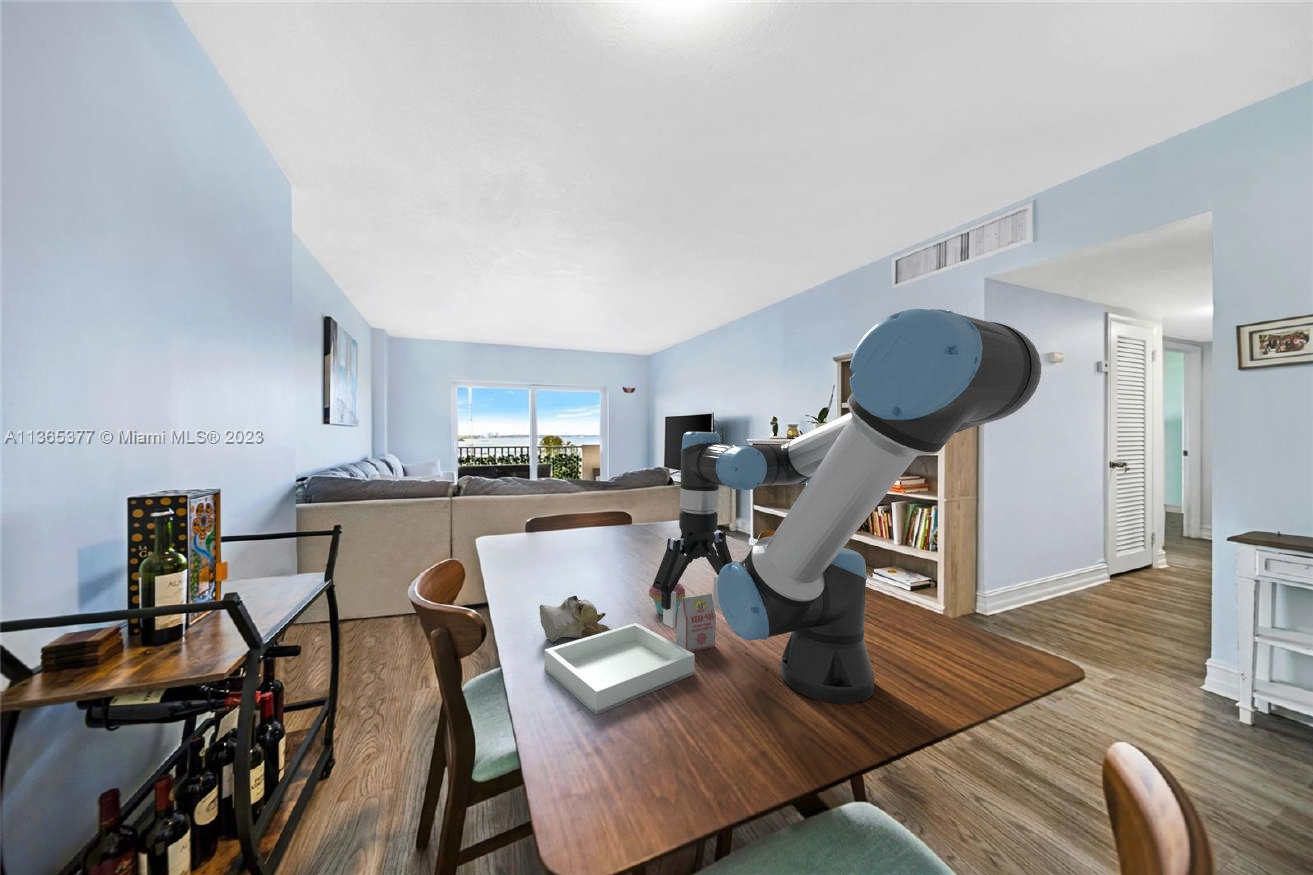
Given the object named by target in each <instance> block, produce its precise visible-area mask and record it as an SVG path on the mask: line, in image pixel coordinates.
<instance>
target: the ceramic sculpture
mask: <svg viewBox="0 0 1313 875" xmlns="http://www.w3.org/2000/svg"><path fill="white" fill-rule="evenodd" d="M538 608H539V617H540V624H541V627H542V629H543V630H544V634H545V635H544V636H545V637H546V639H547V640H549V641H551V642H552V643H554V642H556V641H557V640H558V639H560V638H563V637H564V638H572V639H583V638H586V637H589V636H593V635H596V634H600V633H603V632H606V631H610V630H613V628H609V627H608V626H607V625H604V624H602V623H599V622H600V621H601V620H602V619H603V618H604V617H605V616H606V615H607V613H606V612H602V613H598V611H597V608H596V606H595V605H594V604H593V603H592V602H591V601H589V600H587V599H583V600H582V599H579V598H578V596H577V595H573V596H570V597H567V598H565V599H564V600H563V602H562V604H561V605H559V606H552V605H547V604H545V605H544V604H540V605H539V606H538Z"/></svg>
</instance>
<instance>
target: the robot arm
mask: <svg viewBox="0 0 1313 875" xmlns="http://www.w3.org/2000/svg"><path fill="white" fill-rule="evenodd" d="M849 370H850V371H851V373H852V374H851V375H852V376H850V377H849V378H848V379H849V388H850V390H851V393H850V395H849V396H848V398H847V407H848V410H849V412H848V413H845V414H844V415H841V416H839V417H837V418H835V419H833V420H830V421H829V422H826V423H825V424H822V425H820V426H818V427H816V428H814V429H812V430H809V431H807V432H806V433H803V434H801V435H799V436H797V437H795V438H793V439H791V440H789V441H787V442H784V443H781V444H774V445H773V444H772V445H771V444H763V445H762V444H759V445H758V444H726V443H724V444H723V443H722V442H721V440H722V439H721V435H720V434H719V433H717V432H712V431H711V432H709V431H687V432H685V433H683V436H682V442H681V450H680V489H679V490H680V492H679V494H680V497H679V507H680V508H681V510H680V511H679V515H678V516H679V518H678V521H679V522H678V528H679V529H680V533H681V534H680V537H679V538H674V537H672V536H670V537H668V538H667V544H666V550H665V553H664V555H663V556H662V557H663V558H662V560H661V563H660V566H659V567H658V569H657V570H658V571H657V573H656V576H655V578H654V579H653V580H654V581H653V583H652V585H653V588H655V589H657V590H659V591H661V593H662V594H661V606H662V608H663V615H662V624H664V625H666V626H667V627H670V628H672V629H673V628H676V618H677V613H676V592H674V591H673V590H674V588H675V587H676V585H677V583H678V584H679V581H680V580H681V578H682V576H683V574H684V572H686V569H687V568H688V566H689V565H690V564H691V563H692V562H693V561H694V560H699V558H705V559H706V560H707V561H708V563H709V564H710V566H711V567H712V569H713V570H714V572H715V573H716V575H714V576H713V593H712V599H713V605H714V610H715V609H716V610H718V611H720V612H722V615H723V618H724V620H725V621H726V623H727V625H728V626H729V628H730V630H731V631H732V632H733V633H734V634H735V635H736V636H738V637H739V638H742V639H743V640H745V641H751V642H752V641H756V640H760V641H761V640H762V641H763V640H767V639H768V638H772V637H776V636H780V635H784V634H788V633H790V635H789V638H788V640H787V643H786V646H785V648H784V651H783V654H782V657H781V660H780V675H781V678H782V680H783V681H784V682H785V684H787V685H788V686H789V687H790V688H791V689H792V690H794V691H795V692H797V693H799V694H801V695H803V696H806V697H808V698H811V699H813V700H817V701H822V702H826V703H832V704H845V705H846V704H847V705H849V704H856V703H861V702H864V701H866V700H868V699H870V698H871V697H872V696H873V694H874V692H875V674H874V671H873V668H872V667H873V666H872V664H871V661H870V657H869V654H868V650H867V648H866V644H865V620H866V619H865V617H866V614H865V613H866V591H867V590H866V588H867V580H868V575H867V570H866V569H867V567H866V566H867V565H866V560H865V558H864V556H862V554H861V553H859V552H858V551H855V550H853V549H849V548H845V546H846V545H847V544H848V542H849V541H850V540H851V538H853V536H854V535H855V534H856V533H857V532H858V530H859V529H860V527H861V526H862V525H863V524H864V522H865V521H866V520H867V519H868V517H869V516H870V515H871V514H872V512H873V511H875V509H876V508H877V507H878V505H879V503H880V502H881V501H882V500H883V499H884V498H885V497H886V495H887V494H888V492H889V491H891V489H892V487H894V485H895V484H896V483H897V481H898V480H899V479H900V478H901V476H903V474H904V472H906V471H907V469H908V468H909V467H910V465H911V464H912V463H913V461H915V459H916V457H918V456H927V455H929V456H930V455H935V454H938V453H939V452H940V451H941V450H942V449H943V448H944V446H945V445H946V444H947V443H948V441H949V440H950V439H951V438H952V437H953V435H955V434H956V433H960V432H963V431H965V430H969V429H971V428H974V427H975V428H976V427H979V426H982V425H984V424H985V425H986V424H988V423H992V422H995V421H999V420H1002V419H1004V418H1006V417H1009V416H1011V415H1013V414H1015V412H1017V411H1019V410H1020V409H1022V407H1024V406H1025V405H1026V404H1027V403H1028V402H1029V401H1030V400H1031V398H1032V397H1033V396H1034V395H1035V392H1036V391H1037V388H1038V386H1039V384H1040V381H1041V376H1042V364H1041V358H1040V354H1039V352H1038V350H1037V348H1036V347H1035V345H1034V343H1033V342H1032V341H1031V339H1029V338H1028V337H1027V336H1026V335H1025V334H1024V333H1023V332H1021V331H1019V330H1018V329H1015V328H1014V327H1013V326H1010V325H1008V324H1004V323H1003V324H1002V323H1000V322H995V321H987V320H983V319H979V318H975V317H971V316H967V315H963V314H959V313H956V312H953V311H951V310H948V309H947V310H946V309H935V308H934V309H926V308H913V309H905V310H902V311H899V312H897V313H893V314H891V315H889V316H887V317H885V318H883V319H881V320H880V321H879V322H878V323H876V324H874V325H873V327H871V328H870V329H869V330H868V331H867V332H866V334H865V335H863V337H862V338H861V339H860V341H859V342H858V344H857V346H856V348H855V350H854V352H853V354H852V356H851V360H850V365H849ZM803 484H805V487H804V488H803V489H802V491H801V492H800V494H799V496H798V497H797V499H796V500H795V501H794V503H793V505H792V506H791V508H790V509H789V510H788V512H787V513H786V515H785V517H784V518H783V520H782V521H781V523H780V524H779V525H778V527H777V529H776V530H775V532H774V534H773V535H771V536H764V537H762V538H760V539H758V540H757V541H756V542H755V543H754V545H753V546H752V548H751V549H750V551H749V552H748V554H747V556H746V557H745V558H744V559H743V560H741V561H736V560H733V559H732V556H731V553H730V550H729V549H730V548H729V546H728V543H727V534H726V533H727V532H726V531H723V530H719V529H718V520H719V518H718V516H719V515H718V512H717V510H718V509H719V493H720V492H719V490H720V486H721V487H722V486H723V487H726V488H731V489H732V490H743V491H750V490H754V489H755V488H757V487H763V486H765V487H766V486H782V485H783V486H785V485H786V486H787V485H788V486H798V485H803ZM668 584H669V586H668Z"/></svg>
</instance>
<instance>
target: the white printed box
mask: <svg viewBox="0 0 1313 875" xmlns="http://www.w3.org/2000/svg"><path fill="white" fill-rule="evenodd" d="M716 619H717V615H716V611H715V608H714V605H713V593H711V592H709V593H703V594H697V595H692V596H685V597H683V598H681V603H680V606H679V609H678V612H677V613H676V626H675V628H676V631H675V632H676V635H675V638H676V639H675V644H676V645H678V646H680V647H682V648H684V649H686V650H687V651H689V652H691V653H693V652H696V651H701V650H705V649H711V648H715V647H716V631H717V630H716V628H717V627H716V626H717V625H716V624H717V620H716Z"/></svg>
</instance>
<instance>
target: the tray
mask: <svg viewBox="0 0 1313 875" xmlns="http://www.w3.org/2000/svg"><path fill="white" fill-rule="evenodd" d="M695 656H696V655H695V653H694V652H689V651H687V650H686V649H684V648H682V647H680V646H678V645H676V642H675V643H674V642H673V641H671V640H669V639H667V638H665V637H663V636H662V635H660V634H658V633H656V632H654V631H652V630H650V629H649V628H647V627H645V626H643V625H642V624H640V623H638V622H635V623H630V624H627V625H624V626H621V627H617V628H612V630H610V631H606V632H603V633H600V634H596V635H593V636H589V637H585V638H578V639H576V640H572V641H569V642H566V643H563V644H559V645H556V646H552V647H549V648H545V649H544V669H543V670H545V671H546V673H548V674H549V675H550V676H551V677H552V678H554V679H555V680H556V681H557V682H558V683H559V684H560V685H561V686H563V688H565V689H566V690H567V691H568V692H569V693H571V695H573V696H574V697H575V699H577V700H578V701H579V702H581V704H583V705H584V706H585V707H586V708H588V710H589V711H591V712H592V713H593V714H594V715H595V716H598V715H600V714H603V713H605V712H607V711H610V710H613V709H615V708H617V707H620V706H621V705H624V704H626V703H630V702H632V701H634V700H636V699H639V698H641V697H643V696H646V695H648V694H650V693H654V692H655V691H657V690H660V689H662V688H665V687H667V686H670V685H672V684H675V683H678V682H680V681H682V680H684V679H686V678H688V677H691V676H693V675H695V661H696V660H695V658H696V657H695Z"/></svg>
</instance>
